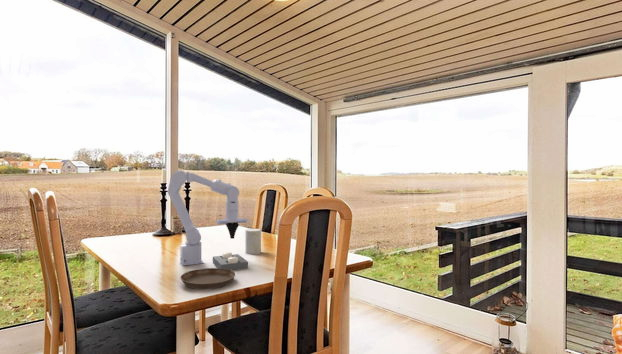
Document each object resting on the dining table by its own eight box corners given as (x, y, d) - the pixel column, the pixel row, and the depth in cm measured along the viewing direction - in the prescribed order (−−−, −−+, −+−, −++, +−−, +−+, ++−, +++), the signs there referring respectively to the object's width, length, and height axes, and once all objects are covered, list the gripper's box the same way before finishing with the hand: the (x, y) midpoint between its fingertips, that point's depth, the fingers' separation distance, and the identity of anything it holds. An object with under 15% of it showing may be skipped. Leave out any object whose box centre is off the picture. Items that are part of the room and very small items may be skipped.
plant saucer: (244, 277, 152) (244, 269, 152) (217, 294, 132) (217, 285, 132) (200, 273, 158) (200, 266, 158) (168, 288, 138) (168, 279, 138)
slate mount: (221, 271, 160) (221, 264, 160) (212, 263, 175) (212, 256, 175) (248, 268, 166) (248, 261, 165) (237, 260, 180) (237, 254, 180)
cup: (253, 254, 191) (253, 231, 191) (242, 252, 196) (242, 230, 196) (264, 252, 198) (264, 229, 198) (253, 250, 203) (253, 228, 202)
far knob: (223, 263, 172) (223, 254, 172) (221, 261, 176) (221, 252, 175) (233, 262, 174) (233, 253, 174) (230, 260, 178) (230, 252, 177)
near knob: (229, 268, 163) (229, 259, 163) (226, 266, 167) (226, 257, 167) (239, 267, 165) (239, 258, 165) (236, 265, 169) (236, 256, 169)
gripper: (219, 212, 174) (219, 240, 175) (249, 210, 181) (249, 238, 181) (215, 210, 181) (215, 238, 181) (244, 209, 187) (244, 236, 188)
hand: (232, 238), depth 182 cm, fingers closed
